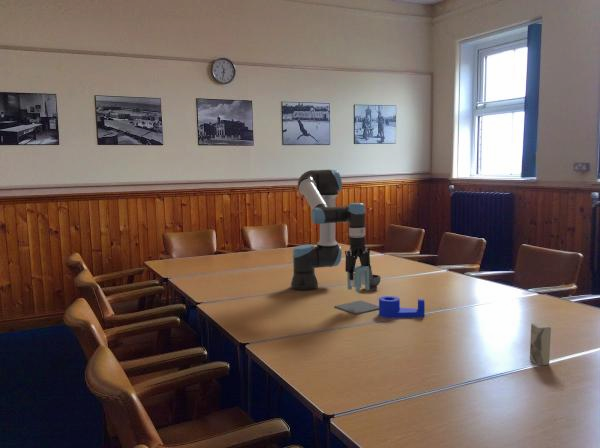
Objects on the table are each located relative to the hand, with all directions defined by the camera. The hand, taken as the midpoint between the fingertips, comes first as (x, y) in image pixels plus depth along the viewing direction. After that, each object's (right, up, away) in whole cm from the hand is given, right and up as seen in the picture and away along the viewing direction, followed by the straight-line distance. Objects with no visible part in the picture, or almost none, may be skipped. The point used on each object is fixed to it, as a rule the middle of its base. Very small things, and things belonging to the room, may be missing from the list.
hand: (358, 285), depth 243 cm
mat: (0, -11, +1) cm, 11 cm away
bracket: (+18, -12, -12) cm, 25 cm away
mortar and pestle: (+11, -6, +39) cm, 41 cm away
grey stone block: (+52, -17, -71) cm, 89 cm away
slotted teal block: (0, -2, 0) cm, 2 cm away
